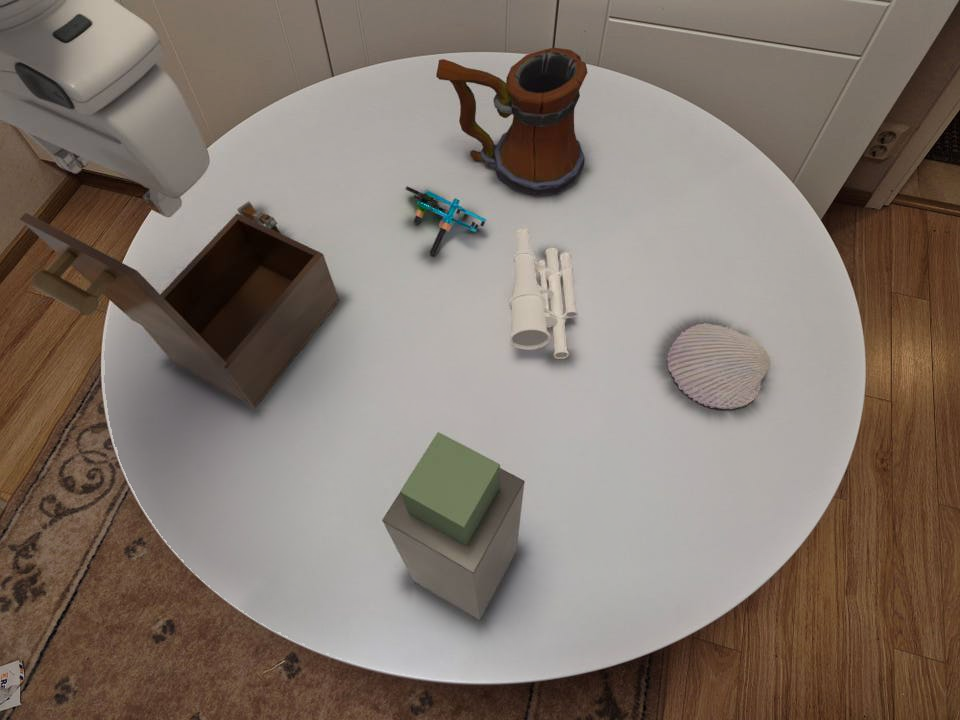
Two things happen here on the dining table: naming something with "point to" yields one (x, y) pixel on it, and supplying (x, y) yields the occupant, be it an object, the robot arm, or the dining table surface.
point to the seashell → (718, 366)
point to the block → (451, 488)
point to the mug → (527, 118)
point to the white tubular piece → (540, 298)
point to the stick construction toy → (442, 214)
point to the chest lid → (112, 289)
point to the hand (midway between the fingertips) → (121, 186)
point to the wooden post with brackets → (258, 216)
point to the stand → (461, 549)
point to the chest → (249, 306)
